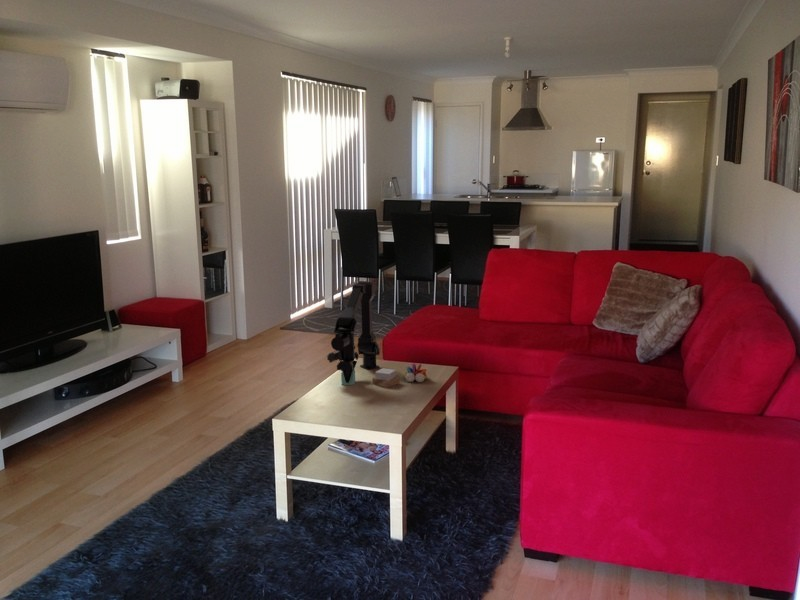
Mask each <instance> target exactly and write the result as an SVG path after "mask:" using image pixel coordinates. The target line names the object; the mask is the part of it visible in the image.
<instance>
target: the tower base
mask: <svg viewBox="0 0 800 600" xmlns="http://www.w3.org/2000/svg"><path fill="white" fill-rule="evenodd" d="M400 381H401V380H400V377H399V376H396V377H395V378H393V379H392V380H390V381H385V380H378V379H375V377H372V385H375V386H378V387H381V388H386V389H387V388H389V387H394V386H396V384H397V385H400V384H399V383H400Z"/></svg>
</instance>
